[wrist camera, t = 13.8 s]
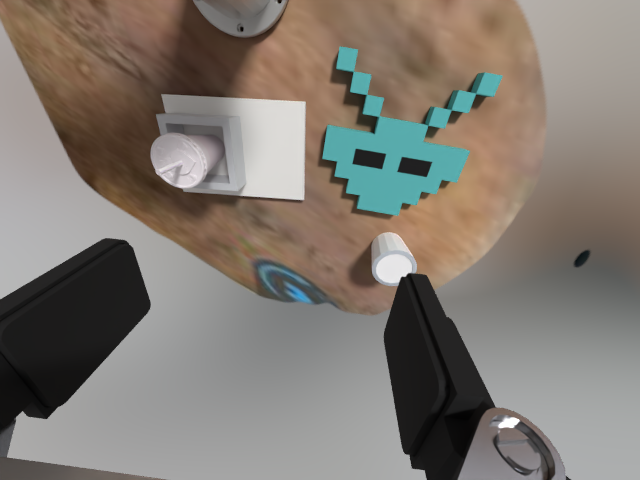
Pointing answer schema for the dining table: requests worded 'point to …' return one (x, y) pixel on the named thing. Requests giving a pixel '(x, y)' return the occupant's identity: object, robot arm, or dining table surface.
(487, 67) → the dining table surface
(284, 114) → the bottle stand
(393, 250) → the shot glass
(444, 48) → the dining table surface
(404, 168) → the alien figure
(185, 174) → the smoothie
